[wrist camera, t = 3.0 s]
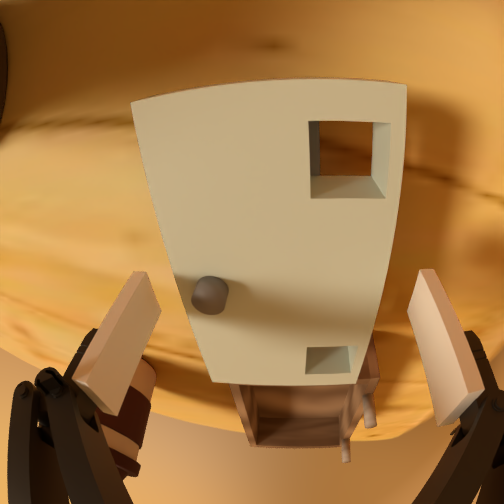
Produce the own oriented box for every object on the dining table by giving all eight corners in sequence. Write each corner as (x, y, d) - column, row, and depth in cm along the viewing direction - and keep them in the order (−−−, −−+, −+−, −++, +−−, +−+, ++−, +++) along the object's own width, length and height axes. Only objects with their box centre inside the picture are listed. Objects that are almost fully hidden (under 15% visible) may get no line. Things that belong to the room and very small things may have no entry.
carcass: (236, 331, 26) (220, 412, 19) (372, 330, 24) (386, 410, 18) (254, 414, 36) (247, 466, 30) (344, 413, 34) (346, 467, 28)
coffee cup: (166, 355, 30) (124, 482, 18) (169, 393, 36) (140, 493, 23) (87, 329, 30) (32, 438, 17) (103, 371, 35) (65, 462, 23)
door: (156, 94, 12) (116, 107, 9) (385, 80, 10) (417, 87, 7) (218, 354, 22) (209, 393, 19) (352, 355, 20) (356, 395, 17)
